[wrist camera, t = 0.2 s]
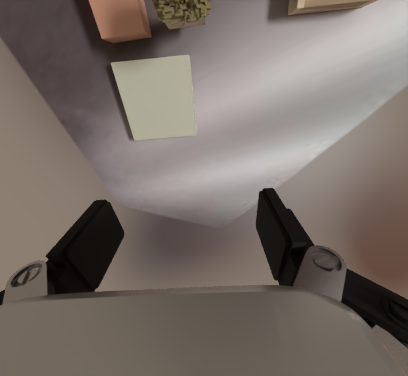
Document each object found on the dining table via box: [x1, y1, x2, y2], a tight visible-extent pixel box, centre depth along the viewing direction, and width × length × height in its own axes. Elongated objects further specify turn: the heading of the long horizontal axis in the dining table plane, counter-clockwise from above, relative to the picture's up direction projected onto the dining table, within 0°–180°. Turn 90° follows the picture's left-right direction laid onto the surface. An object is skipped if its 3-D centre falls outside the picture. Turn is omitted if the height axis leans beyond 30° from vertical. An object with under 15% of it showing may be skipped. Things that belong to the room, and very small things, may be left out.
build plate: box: [111, 55, 197, 140], centre depth 35 cm, size 14×14×2 cm
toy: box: [152, 0, 212, 29], centre depth 22 cm, size 7×7×15 cm
